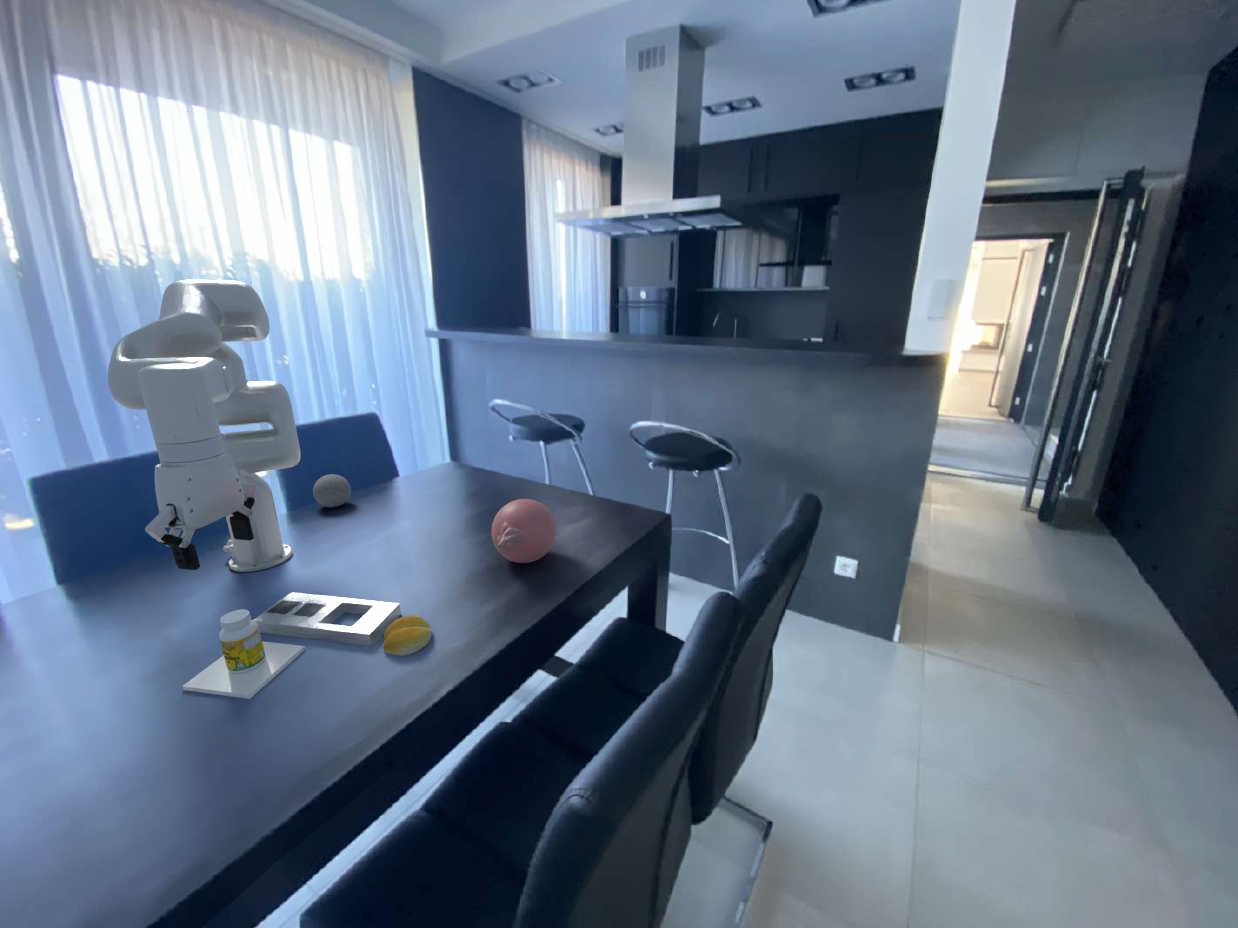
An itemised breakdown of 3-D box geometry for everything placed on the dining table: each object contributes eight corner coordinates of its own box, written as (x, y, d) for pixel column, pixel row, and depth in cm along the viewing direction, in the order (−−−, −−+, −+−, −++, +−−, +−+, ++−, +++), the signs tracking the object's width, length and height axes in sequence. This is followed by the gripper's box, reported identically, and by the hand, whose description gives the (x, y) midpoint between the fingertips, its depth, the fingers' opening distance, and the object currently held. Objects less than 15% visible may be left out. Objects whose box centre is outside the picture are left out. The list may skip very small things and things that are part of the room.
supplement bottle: (273, 657, 88) (262, 610, 85) (243, 678, 83) (230, 628, 80) (250, 650, 90) (239, 603, 87) (219, 670, 85) (206, 621, 82)
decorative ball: (360, 501, 158) (355, 471, 155) (336, 514, 148) (331, 482, 145) (333, 498, 160) (328, 468, 157) (308, 510, 151) (302, 479, 148)
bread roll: (383, 662, 89) (380, 643, 88) (386, 632, 97) (383, 614, 96) (432, 652, 92) (430, 633, 91) (431, 623, 100) (429, 606, 99)
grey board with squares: (254, 632, 96) (251, 620, 95) (293, 602, 106) (291, 591, 105) (371, 645, 93) (369, 633, 92) (401, 613, 102) (399, 602, 102)
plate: (183, 689, 82) (182, 685, 82) (245, 642, 93) (244, 639, 93) (249, 698, 80) (248, 694, 80) (304, 649, 92) (304, 646, 91)
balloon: (469, 577, 116) (463, 516, 111) (514, 540, 134) (511, 486, 129) (528, 590, 111) (525, 526, 107) (567, 550, 129) (566, 494, 125)
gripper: (221, 433, 83) (243, 527, 89) (105, 466, 67) (141, 579, 72) (261, 435, 82) (282, 531, 88) (154, 469, 66) (187, 584, 71)
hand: (218, 553), depth 80 cm, fingers open, 9 cm apart
